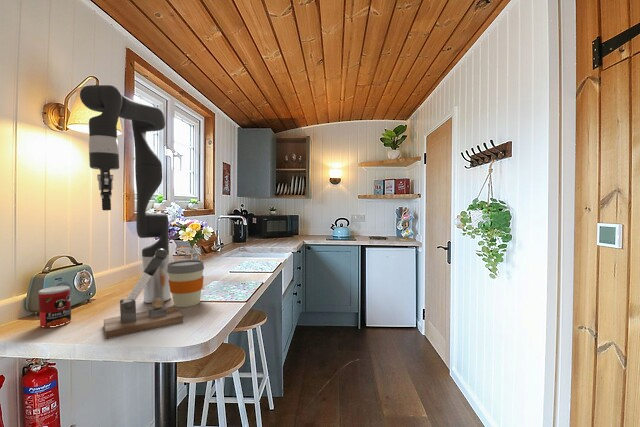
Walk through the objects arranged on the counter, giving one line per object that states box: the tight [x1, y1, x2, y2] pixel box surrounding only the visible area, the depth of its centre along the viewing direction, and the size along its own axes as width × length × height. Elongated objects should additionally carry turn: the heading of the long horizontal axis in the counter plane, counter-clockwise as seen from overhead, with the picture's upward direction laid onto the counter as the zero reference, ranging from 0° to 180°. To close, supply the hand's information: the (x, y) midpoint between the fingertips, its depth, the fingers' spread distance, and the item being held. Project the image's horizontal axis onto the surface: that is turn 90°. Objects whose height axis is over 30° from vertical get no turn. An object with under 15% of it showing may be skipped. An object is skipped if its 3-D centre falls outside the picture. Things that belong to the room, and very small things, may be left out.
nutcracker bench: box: [103, 298, 184, 339], centre depth 101 cm, size 12×20×8 cm, turn 125°
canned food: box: [38, 285, 72, 327], centre depth 103 cm, size 8×8×11 cm
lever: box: [122, 249, 168, 303], centre depth 101 cm, size 4×4×20 cm
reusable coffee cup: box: [167, 259, 205, 308], centre depth 121 cm, size 12×13×15 cm
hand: (106, 210), depth 100 cm, fingers closed
